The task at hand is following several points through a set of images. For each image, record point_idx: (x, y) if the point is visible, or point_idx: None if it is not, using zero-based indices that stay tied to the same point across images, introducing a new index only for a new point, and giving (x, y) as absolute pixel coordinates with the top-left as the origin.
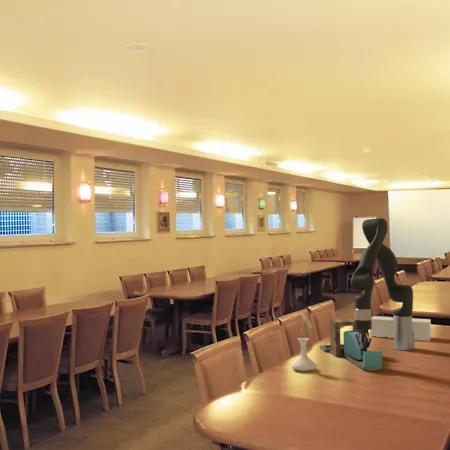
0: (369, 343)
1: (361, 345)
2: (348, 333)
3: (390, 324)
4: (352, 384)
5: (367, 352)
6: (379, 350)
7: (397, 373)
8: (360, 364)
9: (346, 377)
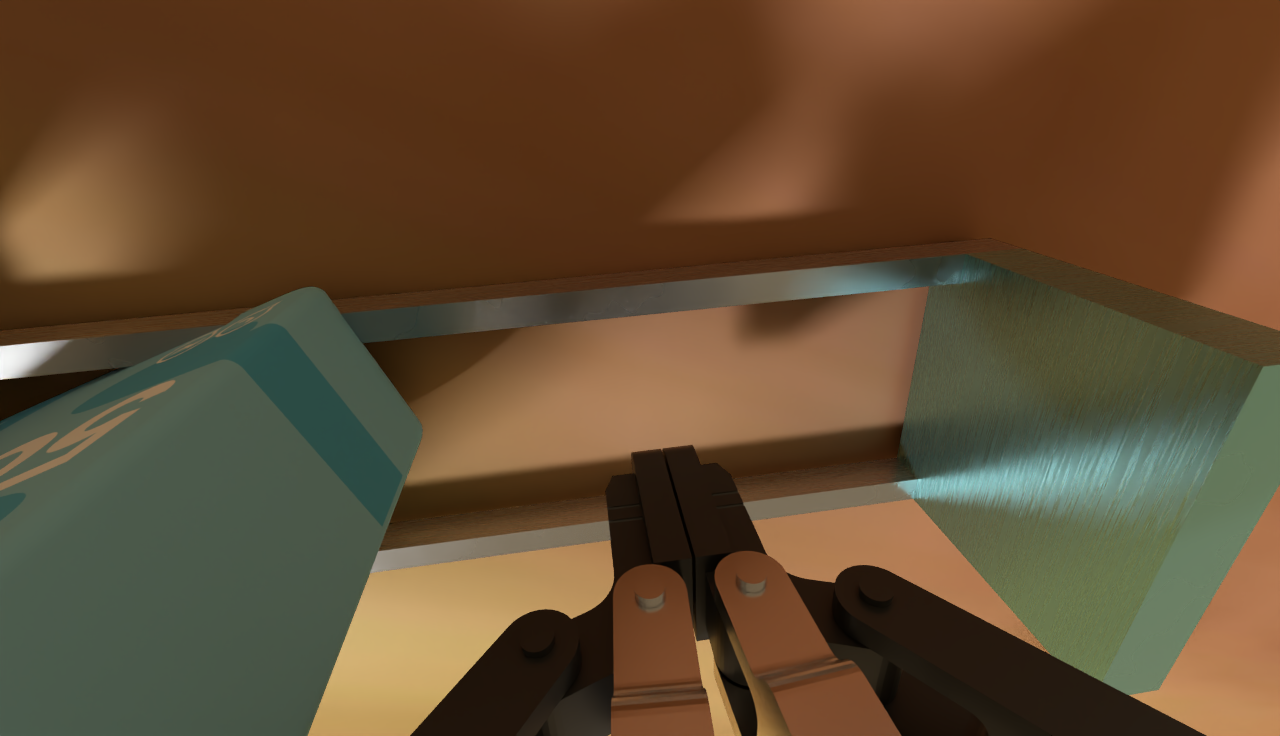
0: (1083, 696)
1: (731, 711)
2: None
3: None
4: (1212, 625)
5: (1167, 633)
6: (1265, 402)
7: (1209, 62)
8: (807, 507)
9: (1032, 638)
